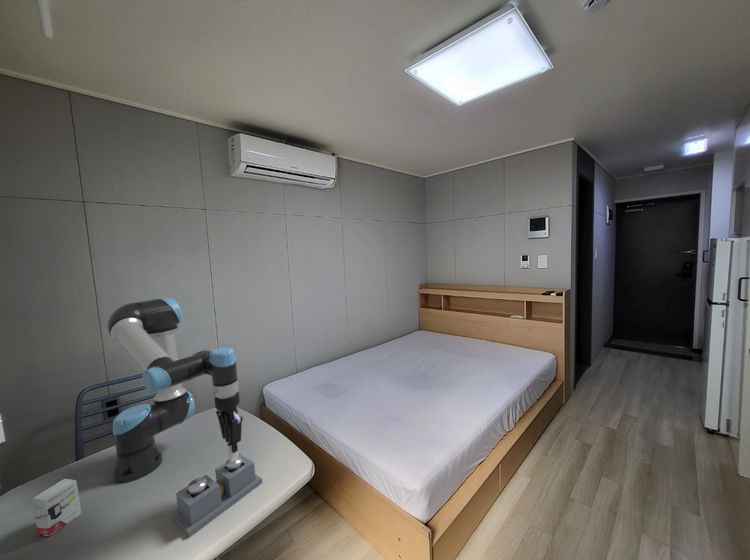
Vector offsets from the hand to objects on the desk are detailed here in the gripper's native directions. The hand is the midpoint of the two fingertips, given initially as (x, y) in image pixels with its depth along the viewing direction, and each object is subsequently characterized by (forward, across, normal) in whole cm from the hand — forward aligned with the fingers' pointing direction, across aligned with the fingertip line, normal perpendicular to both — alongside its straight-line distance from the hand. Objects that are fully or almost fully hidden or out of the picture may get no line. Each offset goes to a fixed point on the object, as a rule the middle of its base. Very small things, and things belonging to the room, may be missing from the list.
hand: (233, 459), depth 103 cm
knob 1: (+8, 0, -12) cm, 15 cm away
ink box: (+11, -35, -38) cm, 53 cm away
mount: (+10, 0, -6) cm, 12 cm away
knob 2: (+8, 0, 0) cm, 8 cm away
